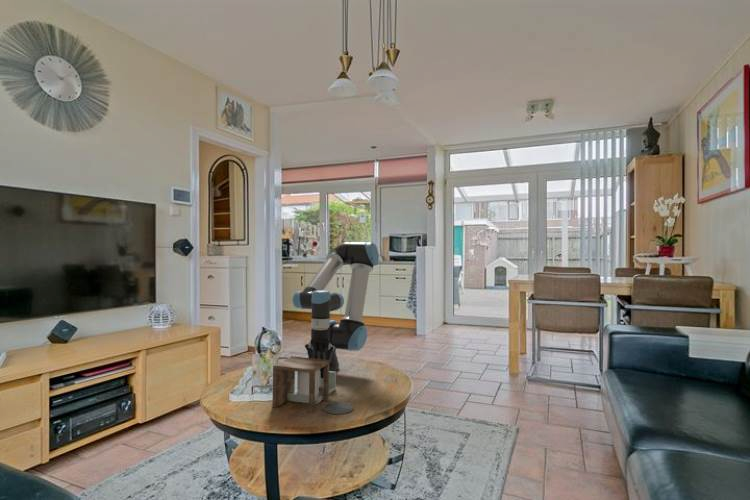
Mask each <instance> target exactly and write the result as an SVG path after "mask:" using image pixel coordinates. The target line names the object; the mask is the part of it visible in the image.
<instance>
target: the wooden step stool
mask: <svg viewBox="0 0 750 500" xmlns="http://www.w3.org/2000/svg"><path fill="white" fill-rule="evenodd" d="M322 367H324V388H322V390H323V393H322V395H323V399H322V400H323V401H325V402H328V401H329V395H330V394H329V360H323V359H313V358H308V357H300V356H292V355H291V356H289V357H287V358H286V359H283V360H281V361H280V362H277V363H275V364H273V367H272V404H271V405H272V407H271V408H275V409H276V408H278V407H279V406H281V405H282V404H284V403H285V402H288V400H287V394H288V393H294V392H296V390H295V387H296V384H295V383H296V372H297V373H298V372H307V373H309V403H308V413H310V414H313V413H315V407H316V406H315V405H316V404H315V372H316V371H318V370H319V369H321V368H322Z"/></svg>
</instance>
